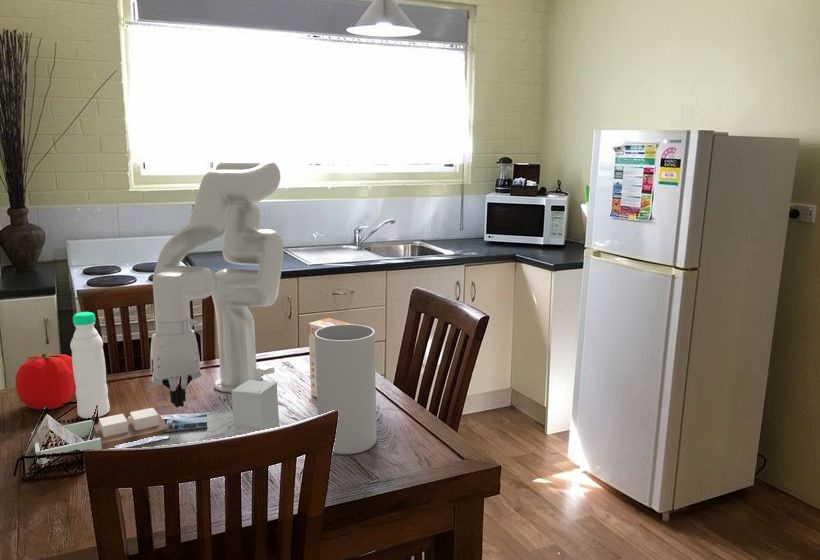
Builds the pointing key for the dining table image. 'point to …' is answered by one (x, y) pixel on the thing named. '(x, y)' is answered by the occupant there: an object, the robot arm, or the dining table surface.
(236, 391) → the supplement box
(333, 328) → the cylinder vase
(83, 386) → the water bottle
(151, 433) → the board
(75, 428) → the tray
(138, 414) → the tile
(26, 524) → the dining table surface
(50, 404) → the tomato
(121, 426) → the tile
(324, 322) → the coffeecake box
